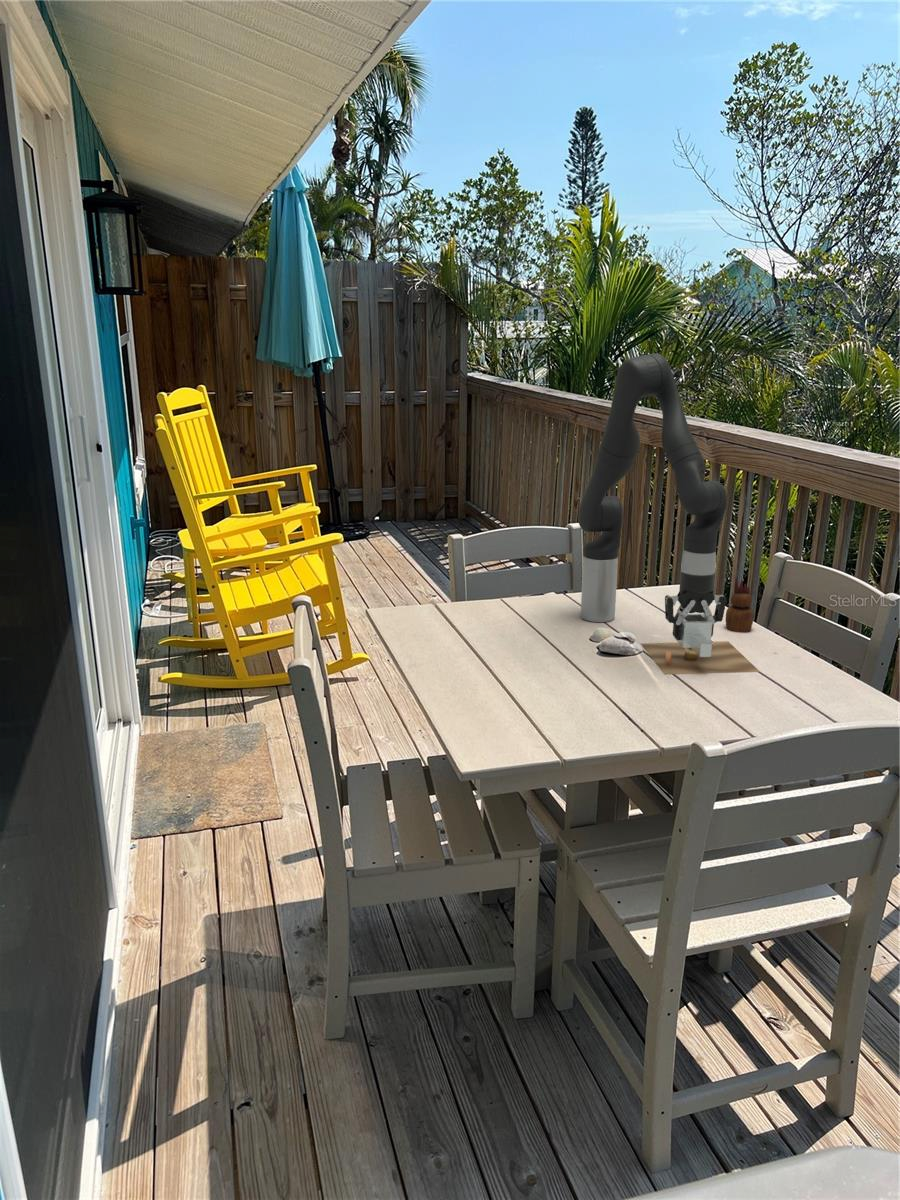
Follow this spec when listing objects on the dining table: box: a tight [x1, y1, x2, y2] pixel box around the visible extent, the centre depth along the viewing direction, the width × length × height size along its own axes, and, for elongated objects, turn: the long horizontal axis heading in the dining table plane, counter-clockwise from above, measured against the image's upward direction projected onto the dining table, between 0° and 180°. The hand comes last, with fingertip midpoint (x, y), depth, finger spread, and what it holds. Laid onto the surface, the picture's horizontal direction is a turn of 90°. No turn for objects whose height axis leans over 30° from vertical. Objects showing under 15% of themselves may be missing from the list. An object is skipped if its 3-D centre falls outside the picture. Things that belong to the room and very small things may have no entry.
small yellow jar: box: [684, 648, 698, 661], centre depth 207 cm, size 3×3×4 cm
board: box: [640, 640, 761, 676], centre depth 209 cm, size 20×22×2 cm
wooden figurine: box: [725, 577, 755, 633], centre depth 226 cm, size 7×6×15 cm
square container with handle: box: [674, 613, 712, 657], centre depth 203 cm, size 12×6×6 cm, turn 3°
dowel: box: [665, 651, 672, 665], centre depth 204 cm, size 1×1×3 cm
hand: (692, 638), depth 206 cm, fingers closed on square container with handle, 6 cm apart
